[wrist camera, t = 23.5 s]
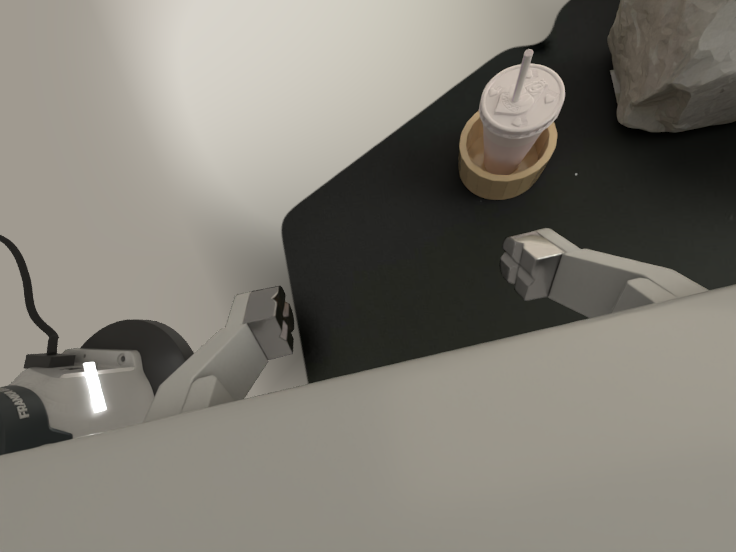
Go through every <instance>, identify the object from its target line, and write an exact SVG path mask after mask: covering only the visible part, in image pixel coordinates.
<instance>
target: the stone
mask: <svg viewBox="0 0 736 552" xmlns="http://www.w3.org/2000/svg"><path fill="white" fill-rule="evenodd" d="M608 46H609V49H610V52H611V54H612V63H613V67H614V70H610V73H611V76H612V81H613V86H614V90H615V96H616V99H617V104H618V107H617V119H618V122H619V123H620V124H622V125H624V126H626V127H628V128H637V129H642V130H645V131H648V132H675V133H676V132H682V131H686V130H691V129H697V128H702V127H706V126H711V125H719V124H726V123H731V122H735V121H736V0H620V5H619V9H618V11H617V15H616V19H615V22H614V24H613V26H612V27H611V29H610V33H609V36H608Z"/></svg>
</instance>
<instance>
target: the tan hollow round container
mask: <svg viewBox="0 0 736 552" xmlns="http://www.w3.org/2000/svg"><path fill="white" fill-rule="evenodd" d="M556 142H557V130H556V127H555V123H554V122H553V123H552V124H551V125H550V126H549V127H548V128H546V129H545V130H543V132H542V133H541V134H540V136H539V137H538V139H537V140H536V141H535V143H534V144H533V146H532V147H531V149H530V150H529V151H528V153H527V154H526V156H525V157H524V159H523V160H522V161H521V163H520V164H519V166H518V167H517V169H516V170H515V171H514V172H512V173H511V174H509V175H495V174H492V173H489V172H488V171H487V170H486V168H485V165H484V139H483V123H482V121H481V119H480V114H479V111H478V112H476V113H475V114H474V115H473V117H472V118H471V119H470V120H469V121H468V122H467V123H466V125H465V127H464V129H463V131H462V133H461V137H460V144H459V160H458V167H459V175H460V178H461V180H462V182H463V184H464V185H465V186H466V188H468V189H469V190H470V191H471V192H472V193H474V194H475V195H477V196H479V197H482V198H485V199H490V200H504V199H509V198H513V197H515V196H518V195H520V194H522V193H523V192H525V191H527V190H528V189H529V188H530V187H531V186H532V185H533V184H534V183H535V182H536V180H537V179H538V178H539V176H540V175H541V173H542V171H543V169H544V168H545V166H546V164H547V163H548V161H549V159H550V157H551V155H552V153H553V152H554V150H555V148H556Z"/></svg>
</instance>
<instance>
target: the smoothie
mask: <svg viewBox="0 0 736 552" xmlns="http://www.w3.org/2000/svg"><path fill="white" fill-rule="evenodd" d="M532 55H533V50H531V49H528V50H526V51H525V53H524V56H523V60H522V64H520V65H515V66H512V67H509V68H507V69H505V70H503V71H501V72H500V73H498V74H497V75H495V76H494V77H493V78H492V79H491V80H490V81H489V82H488V84H487V85H486V87H485V89H484V91H483V93H482V96H481V101H480V106H479V114H480V119H481V121H482V123H483V139H484V165H485V168H486V170H487V171H488V172H489V173H492V174H495V175H509V174H511V173H512V172H514V171H515V170H516V169H517V167H518V166H519V164H520V163H521V161H522V160H523V159H524V157H525V156H526V154H527V153H528V151H529V150H530V149H531V147H532V146H533V144H534V143H535V141H536V140H537V139H538V137H539V136H540V134H541V133H542V132H543V130H545V129H546V128H548V127H549V126H550V125H551V124H552V123H553V122H554V120H555V119H556V118H557V117H558V114H559V112H560V110H561V107H562V105H563V102H564V98H565V87H564V84H563V81H562V80H561V78H560V77H559V75H558V74H557V73H556V72H554V71H553V70H551V69H550V68H548V67H545V66H542V65H539V64H530V62H531V59H532Z"/></svg>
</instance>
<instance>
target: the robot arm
mask: <svg viewBox="0 0 736 552" xmlns="http://www.w3.org/2000/svg"><path fill="white" fill-rule="evenodd" d="M0 241H1V242H2V243H4V244H5V245H6V246H7V247H8V248H9V250H10V251H11V252H12V254H13V256H14V257H15V259H16V262H17V264H18V267H19V270H20V273H21V277H22V281H23V287H24V296H25V303H26V307H27V310H28V313H29V316H30V318H31V319H32V320H33V322H34V323H35V324H36V325H37V326H38V327H39V328H40V329H41V330H42V331H43V332H45V333H46V334H47V335H48V336H49V340H48V347H47V353H45V354H30V355H29V354H28V355H26V360H25V364H24V368H26V370H25V371H23V372H22V373H21V374H20V375H19V376H18V377H17V378H16V379H15V380H14V381H13V382H12V383H11V384H10V385H9V386H5V387H1V388H0V552H736V284H735V285H731V286H726V287H722V288H718V289H714V290H708V289H706V288H704V287H702V286H700V285H699V284H697V283H695V282H693V281H692V280H690V279H688V278H686V277H685V276H683V275H681V274H679V273H678V272H676V271H674V270H672V269H668V268H664V267H660V266H655V265H651V264H647V263H643V262H639V261H635V260H630V259H626V258H622V257H618V256H614V255H610V254H605V253H601V252H597V251H593V250H589V249H582V250H581V249H580V248H578V247H577V246H575V245H574V244H572V243H571V242H569V241H568V240H566V239H565V238H563V237H562V236H560V235H559V234H557V233H556V232H554V231H553V230H551V229H548V228H544V229H540V230H536V231H532V232H529V233H525V234H520V235H516V236H512V237H507V238H505V240H504V241H503V246H502V248H503V250H504V251H505V253H504V254H503V255H502V257H501V258H500V265H499V266H500V271H501V274H502V276H503V278H504V279H505V280H506V281H507V282H509V283H512V284H514V285H515V287H514V290H515V291H516V292H517V293H518V294H519V295H520V296H521V297H522V298H523V299H524V301H529V300H534V299H539V298H544V297H548V298H550V299H552V300H554V301H556V302H558V303H560V304H562V305H564V306H566V307H568V308H570V309H572V310H574V311H576V312H579V313H581V314H583V315H585V316H587V317H589V319H585V320H581V321H577V322H572V323H568V324H564V325H560V326H555V327H551V328H547V329H542V330H538V331H534V332H529V333H525V334H521V335H516V336H512V337H508V338H503V339H499V340H495V341H490V342H486V343H482V344H477V345H473V346H469V347H465V348H460V349H456V350H452V351H448V352H443V353H439V354H435V355H430V356H426V357H422V358H418V359H413V360H409V361H405V362H400V363H396V364H392V365H388V366H383V367H379V368H375V369H371V370H366V371H362V372H358V373H353V374H349V375H345V376H340V377H336V378H332V379H328V380H323V381H319V382H315V383H310V384H306V385H302V386H298V387H293V388H289V389H285V390H280V391H276V392H272V393H268V394H263V395H259V396H255V397H251V398H246V399H244V398H245V396H246V395H247V393H248V392H249V390H250V389H251V387H252V386H253V384H254V383H255V381H256V380H257V378H258V377H259V375H260V373H261V372H262V370H263V369H264V367H265V366H266V364H267V363H268V360H271V359H275V358H279V357H283V356H286V355H290V354H293V337H292V334H291V332H292V331H293V330H294V318H293V313H292V309H291V307H290V304H288V303H287V302H285V293H284V290H283V288H282V287H281V286H276V287H271V288H266V289H261V290H256V291H252V292H246V293H241V294H237V295H236V296H235V297H234V301H233V304H232V307H231V310H230V314H229V316H228V320H227V323H226V326H225V328H222V329H220V330H219V331H218V332H217V333H215V335H213V336H212V337H211V338H210V339H209V340H208V341H207V342H206V343H205V344H204V345H203V346H202V347H201V348H200V349H198V350H197V351H196V352H195V353H194V354H193V355H192V356H191V357H190V358H189V359H188V360H187V361H185V362H184V363H183V364H182V365H181V366H180V367H179V368H178V369H177V370H176V371H175V372H174V373H173V374H172V375H170V376H169V377H168V378H167V379H166V380H165V381H164V382H163V383H162V384H161V385H160V386H159V388H158V390H157V392H156V395H155V397H154V394H153V390H152V387H151V385H150V383H149V381H148V379H147V377H146V375H145V374H144V371H143V366H142V360H141V356H140V353H139V352H138V351H137V350H118V349H84V348H74V349H67V350H65V351H64V352H63V353H62V354H57V342H58V338H59V337H58V335H57V333H56V332H55V331H54V330H53V329H52V328H51V327H50V326H48V325H47V324H46V323H45V322H44V321H43V320H42V319H41V318H40V316H39V315H38V313H37V311H36V308H35V305H34V300H33V293H32V285H31V279H30V276H29V272H28V270H27V266H26V263H25V261H24V259H23V256H22V255H21V253H20V251H19V250H18V249H17V247H16V246H15V245H14V244H13V243H12V242H11V241H10V240H9V239H7V238H5V237H4V236H1V235H0Z"/></svg>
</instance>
